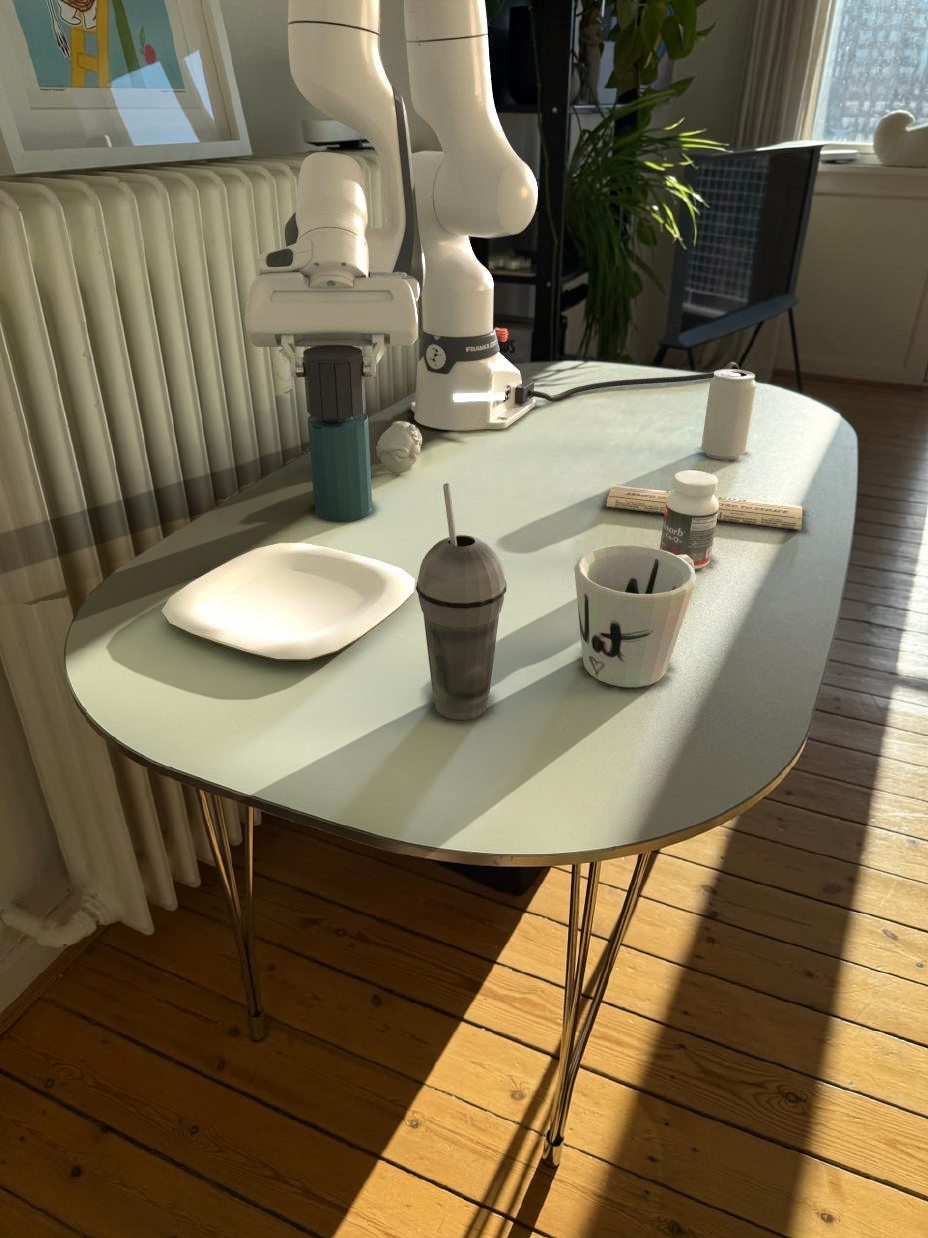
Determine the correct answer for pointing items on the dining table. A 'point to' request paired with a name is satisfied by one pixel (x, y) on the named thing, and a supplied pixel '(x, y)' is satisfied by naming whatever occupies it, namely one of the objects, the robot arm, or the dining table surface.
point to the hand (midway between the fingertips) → (333, 374)
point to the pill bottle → (691, 516)
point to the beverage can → (728, 413)
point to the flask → (340, 467)
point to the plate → (290, 601)
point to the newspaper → (726, 512)
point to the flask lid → (334, 381)
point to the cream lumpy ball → (399, 447)
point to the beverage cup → (460, 618)
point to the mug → (631, 611)
